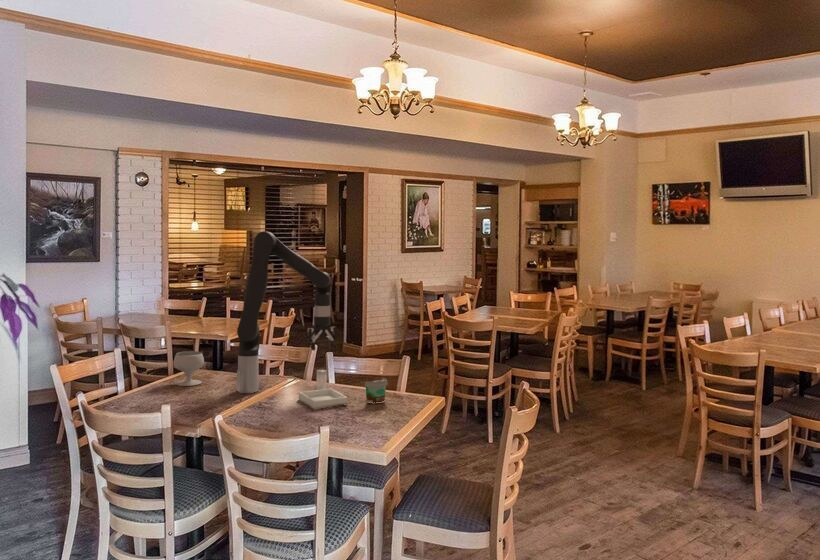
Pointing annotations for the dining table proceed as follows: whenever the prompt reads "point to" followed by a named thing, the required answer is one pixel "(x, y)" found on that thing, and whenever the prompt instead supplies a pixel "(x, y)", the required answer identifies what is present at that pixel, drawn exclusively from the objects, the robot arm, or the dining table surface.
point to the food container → (376, 390)
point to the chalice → (188, 366)
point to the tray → (322, 398)
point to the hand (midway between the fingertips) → (321, 349)
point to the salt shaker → (321, 379)
